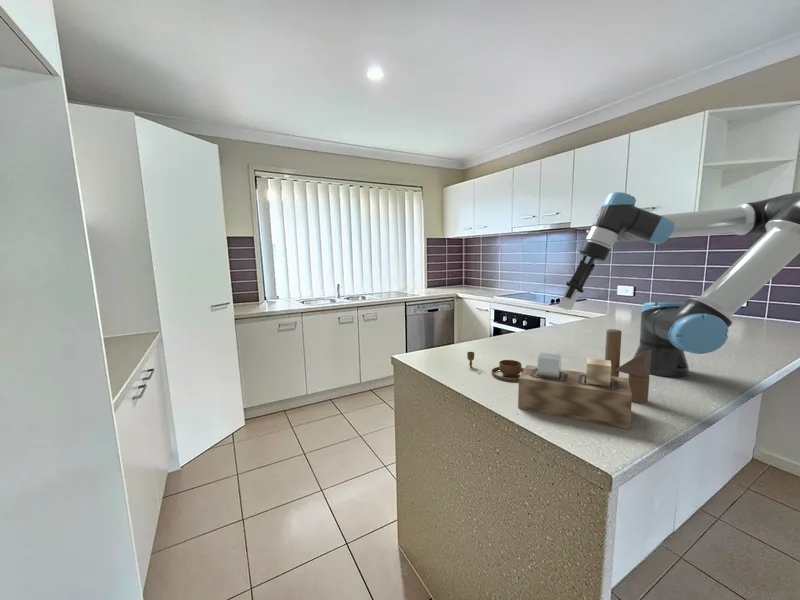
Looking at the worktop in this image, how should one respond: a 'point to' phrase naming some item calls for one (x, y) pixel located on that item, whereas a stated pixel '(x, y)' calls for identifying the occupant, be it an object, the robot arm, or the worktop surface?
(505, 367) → the place setting
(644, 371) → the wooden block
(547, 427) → the worktop surface
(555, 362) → the grey metal peg
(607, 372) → the maple peg
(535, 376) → the walnut block
